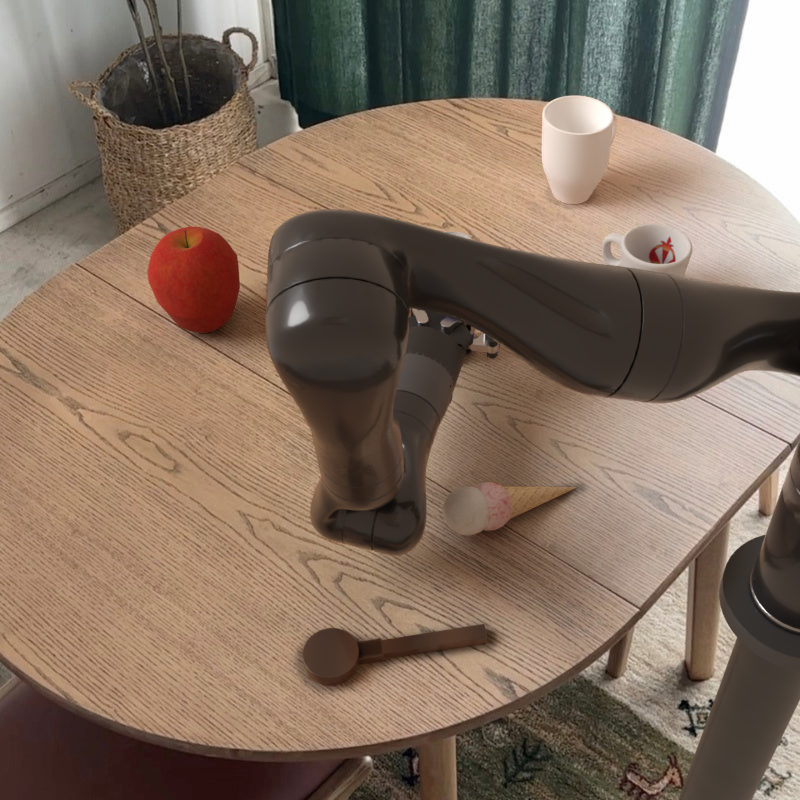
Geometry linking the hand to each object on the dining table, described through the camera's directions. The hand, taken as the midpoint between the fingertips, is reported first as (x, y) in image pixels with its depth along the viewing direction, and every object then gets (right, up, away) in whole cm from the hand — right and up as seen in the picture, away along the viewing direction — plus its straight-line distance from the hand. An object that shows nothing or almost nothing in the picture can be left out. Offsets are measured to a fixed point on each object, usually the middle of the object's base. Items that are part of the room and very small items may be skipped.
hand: (456, 278), depth 117 cm
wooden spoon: (-6, -36, -22) cm, 43 cm away
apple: (-29, -4, +10) cm, 31 cm away
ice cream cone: (+4, -24, -11) cm, 27 cm away
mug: (+18, +15, +25) cm, 34 cm away
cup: (+22, -1, +10) cm, 24 cm away
